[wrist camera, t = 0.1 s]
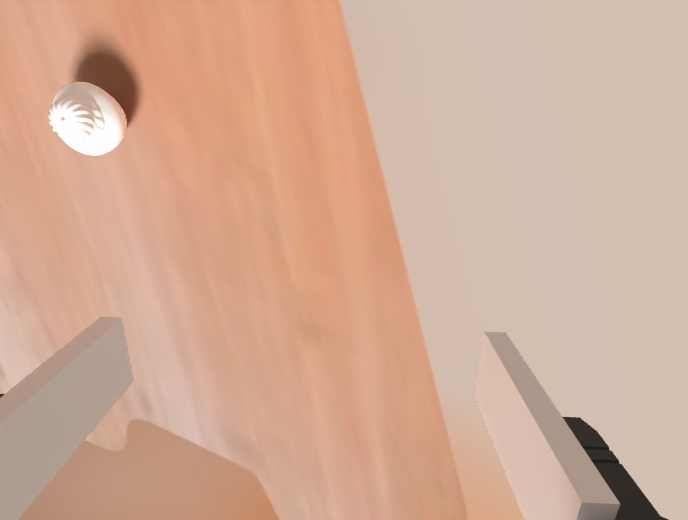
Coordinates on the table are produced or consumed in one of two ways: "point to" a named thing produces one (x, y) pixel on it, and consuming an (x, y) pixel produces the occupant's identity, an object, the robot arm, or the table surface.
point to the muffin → (87, 118)
